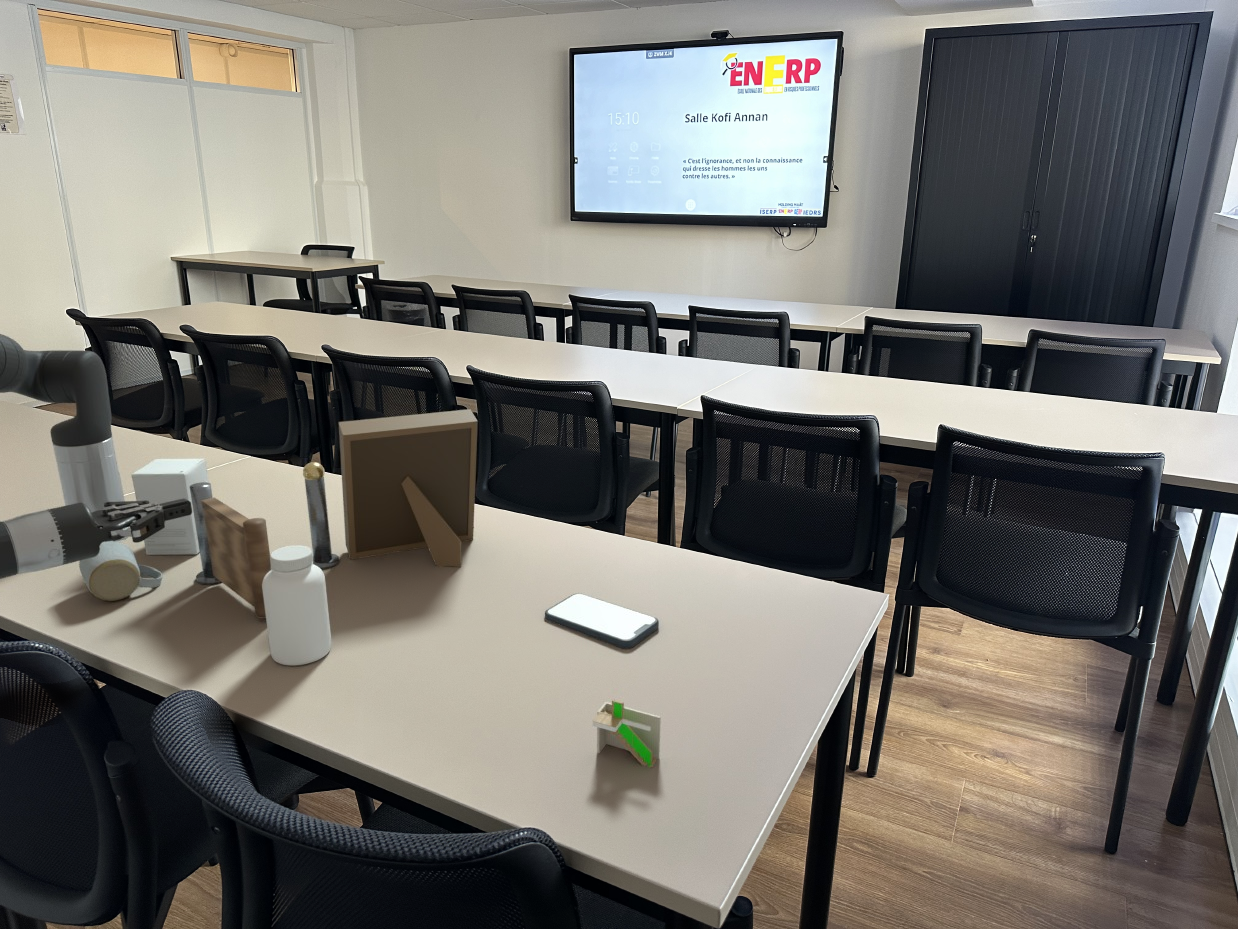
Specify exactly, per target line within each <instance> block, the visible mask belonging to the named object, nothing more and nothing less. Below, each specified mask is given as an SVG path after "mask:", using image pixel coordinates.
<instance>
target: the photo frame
mask: <svg viewBox="0 0 1238 929" xmlns="http://www.w3.org/2000/svg"><path fill="white" fill-rule="evenodd" d="M478 424H479V423H478V419H477V418H476V416H475V415H474V413H473V411H472V409H470V408H469V409H459V410H451V411H439V412H430V413H428V412H427V413H419V414H418V413H417V414H409V415H407V414H406V415H397V416H389V417H377V418H365V419H360V420H359V419H357V420H346V421H338V434H339V450H340V470H341V484H342V487H341V488H342V504H343V519H344V521H343V522H344V539H345V547H346V550H347V554H348V557H349V561H350V560H351V561H352V560H356V559H357V560H359V559H363V558H369V557H375V556H380V555H387V554H394V553H399V552H406V551H412V550H417V549H424V548H428V551H429V553H430V555H431V557H432V559H433V562H434V564H435V566H439V567H440V566H441V567H443V566H444V567H456V568H457V567H458V568H461V567H462V543H463V542H466V541H474V532H475V531H474V526H475V525H474V524H475V499H476V494H475V493H476V478H477V477H476V472H477V452H478V451H477V449H478V448H477V445H478V443H477V442H478Z"/></svg>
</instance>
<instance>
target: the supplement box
mask: <svg viewBox="0 0 1238 929" xmlns="http://www.w3.org/2000/svg"><path fill="white" fill-rule="evenodd" d="M131 480H132V486H133V489H134V494H135V495H134V496H135V499H136V500H135V501H144V500H146V501H149V503H154V502H155V503H158V504H161V503H165V502H170V501H174V500H179V499H183V498H185V499H187V500H188V501H190V502H191V507H192V514H191V515H188V516H184V517H180V518H176V519H172V520H167V521H165V523H164V524H165V528H163V529H161V530H160V531H158V532H157V533H155V534H153V535H152V536H150V537H148V538H147V539H145V540H143V543H144V548H145V553H146V556H158V555H159V556H162V555H163V556H165V555H167V556H172V555H173V556H175V555H183V556H184V555H187V556H188V555H197V554H200V550H199V544H198V537H197V531H196V525H195V518H194V512H193V505H192V499H191V493H190V486H191V485H192V484H195V483H201V482H207V483H210V480H209V473H208V467H207V461H206V458H155V459H153V460H152V461H150V462H149V463H147V464H146V465H144V466H143V467H141V468H139V469H137V470H136V471H135V472H132V474H131Z"/></svg>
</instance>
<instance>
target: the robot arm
mask: <svg viewBox="0 0 1238 929" xmlns="http://www.w3.org/2000/svg"><path fill="white" fill-rule="evenodd" d="M107 377H108V376H107V371H106V368H105V365H104V363H103V360H102V359H101V357H100V356H99V355H98V354H97V353H96V352H94V351H91V350H72V349H70V350H68V349H67V350H61V349H59V350H57V349H56V350H54V349H53V350H26V349H24V348H23V347H22V345H20V344H19V343H18V342H17V341H16V340H15V339H14V338H11V337H9V336H7V335H4V334H1V333H0V394H4V393H14V394H19V395H20V396H21V395H22V396H25V397H27V398H32V399H34V400H36V401H41V402H44V403H48V404H75V406H76V408H75V410H76V415H75V416H73V417H72V418H69V419H66V420H64V421H60V422H58V423H56V424H54V425H53V426H52V427H51V429H50V431H49V432H50V438H51V442H52V443H51V444H52V447H53V451H54V456H55V462H56V467H57V471H58V476H59V482H60V485H61V487H60V488H61V490H62V491H61V492H62V496H63V500H64V505H63V506H57V507H52V508H48V509H43V510H39V511H35V512H30V513H29V512H28V513H25V514H21V515H18V516H15V517H12V518H9V519H5V520H2V521H0V580H2V579H4V578H5V579H6V578H9V577H13V576H17V575H21V574H28V573H34V572H39V571H44V570H48V569H52V568H56V567H60V566H64V565H68V564H72V563H76V562H80V560H84V559H88V558H92V557H95V556H97V555H98V554H99V551H100V545H101V543H102V542H108V541H114V542H116V541H118V542H121V541H125V540H127V539H128V538H130V537H131V538H132V542H133V543H141V542H144V540H145V539H147V538H148V537H150V536H152V535H153V534H155V533H157V532H158V531H160V530H161V529H163V528H165V524H164V523H165V521H167V520H172V519H176V518H180V517H184V516H188V515H191V514H192V507H191V502H190V501H188V500H187V499H185V498H183V499H179V500H174V501H170V502H165V503H161V504H158V503H155V502H154V503H149V501H146V500H144V501H136V500H130V501H129V500H127V501H126V500H125V495H124V490H123V483H122V478H121V474H120V470H119V465H118V459H117V453H116V449H115V444H114V439H113V432H112V410H111V402H110V395H109V386H108V379H107Z"/></svg>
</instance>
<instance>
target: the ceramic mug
mask: <svg viewBox="0 0 1238 929" xmlns="http://www.w3.org/2000/svg"><path fill="white" fill-rule="evenodd" d="M78 563H79V564H78V565H79V566H78V567H79V571H80V574H81V576H82V578H83V580H84V582H85V584H86V588H87V589H88V591H89V592H90V593H91V594H92V595H93V596H95V598H97V599H100V600H102V601H105V602H106V601H107V602H115V601H120V600H123V599H125V598H128V597H129V596H130V595H132V594H133V593H134V592H135V591H136V590H137V588H138V587H140V588H152V589H153V588H156V587H157V588H158V587H159V586H160V585H161V583H162V580H163V573H162V572H161V571H160V570H158V568H157V569H156V568H155V567H152V566H148V565H146V564H141V563H137V559H136V555H135V554H134V552H133V550H132V549H131V548H130V547H129V546H128V545H127V544H125V543H123V542H121V541H116V542H114V541H108V542H102V543H101V545H100V551H99V554H98V555H97V556H95V557H92V558H88V559H84V560H80V561H78ZM141 575H143V576H146V577H141ZM148 577H149V578H148Z"/></svg>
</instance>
